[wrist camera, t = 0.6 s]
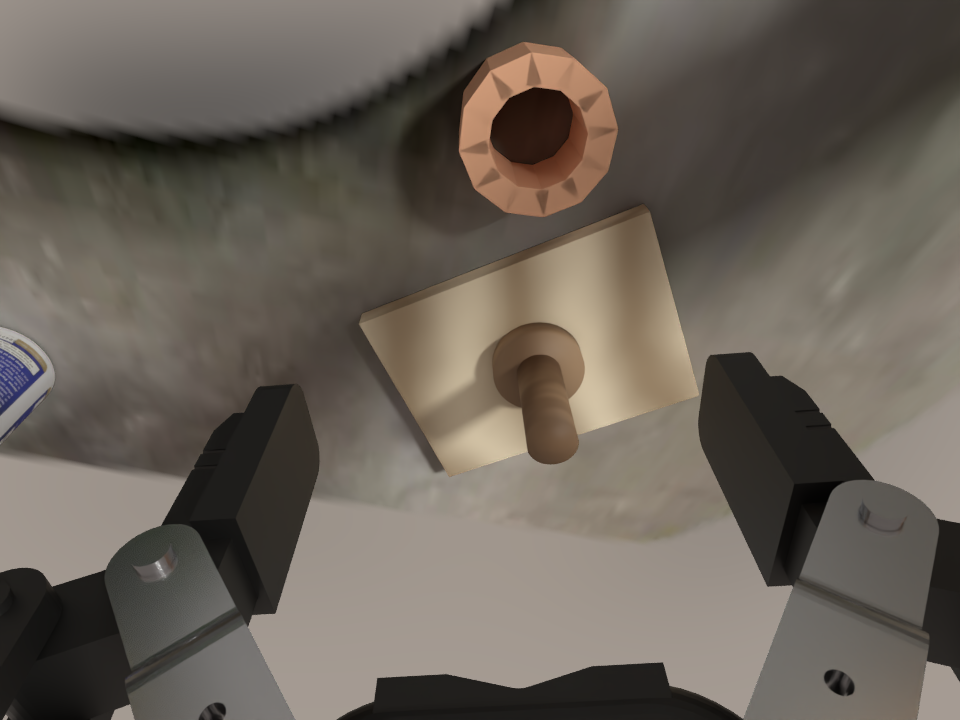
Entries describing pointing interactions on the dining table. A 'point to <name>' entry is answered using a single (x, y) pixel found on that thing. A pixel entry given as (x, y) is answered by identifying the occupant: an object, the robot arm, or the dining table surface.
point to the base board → (529, 299)
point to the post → (541, 386)
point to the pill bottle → (21, 379)
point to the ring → (572, 164)
